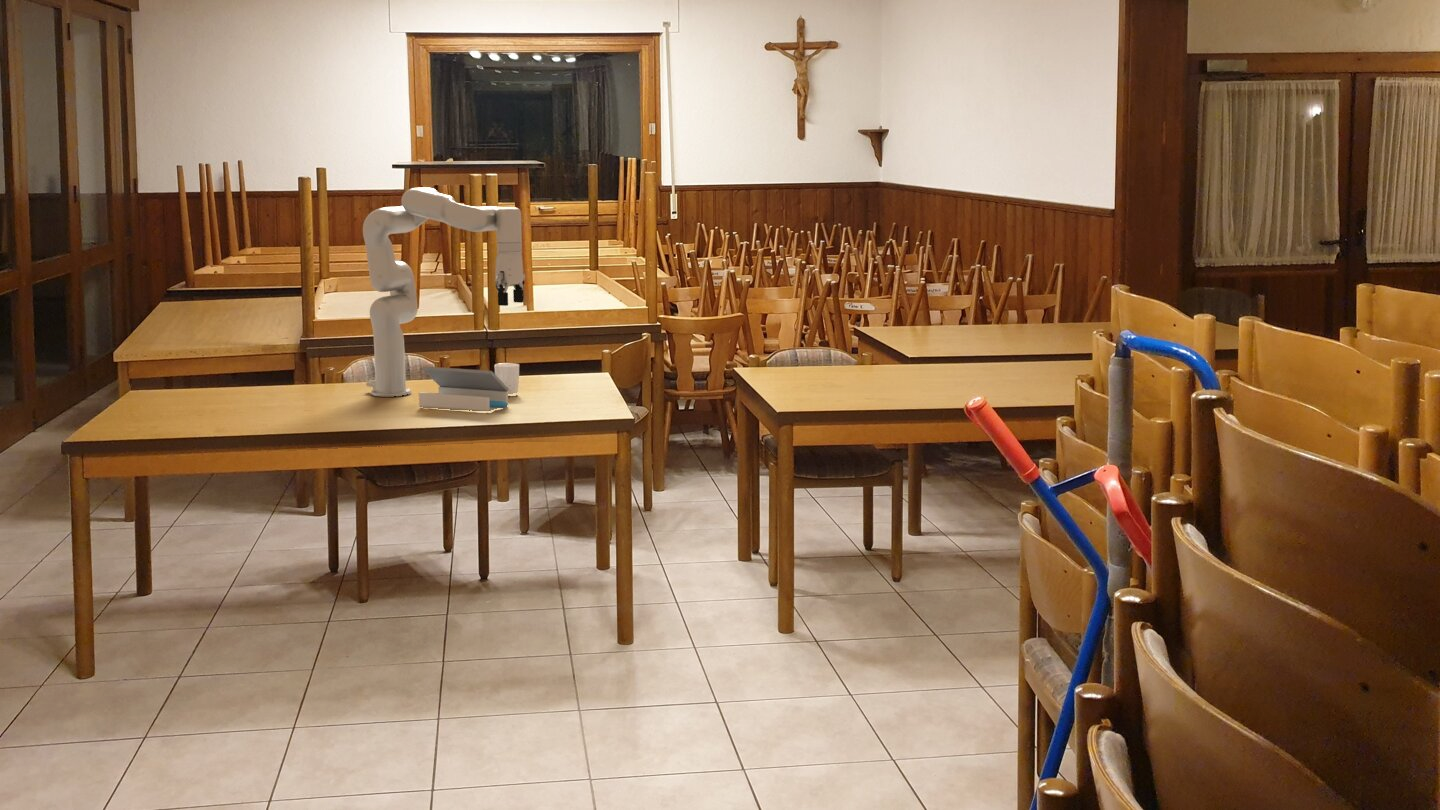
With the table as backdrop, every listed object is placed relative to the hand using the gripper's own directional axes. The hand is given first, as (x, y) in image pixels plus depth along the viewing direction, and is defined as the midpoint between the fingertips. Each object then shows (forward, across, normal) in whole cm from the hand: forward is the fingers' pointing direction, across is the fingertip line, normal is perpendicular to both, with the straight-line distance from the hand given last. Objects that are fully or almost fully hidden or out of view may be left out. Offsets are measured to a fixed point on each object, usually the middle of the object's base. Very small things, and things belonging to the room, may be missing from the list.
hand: (510, 303), depth 439 cm
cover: (+23, +12, -10) cm, 27 cm away
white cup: (+31, -12, -9) cm, 35 cm away
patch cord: (+30, +13, -10) cm, 34 cm away
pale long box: (+31, +13, -10) cm, 35 cm away
